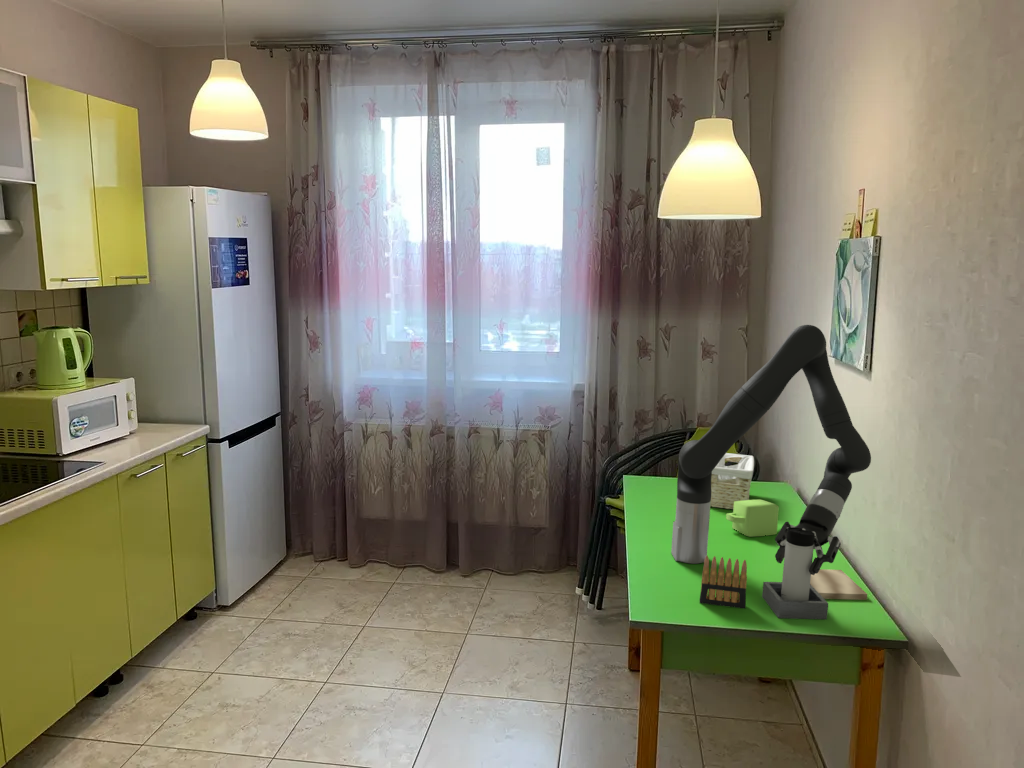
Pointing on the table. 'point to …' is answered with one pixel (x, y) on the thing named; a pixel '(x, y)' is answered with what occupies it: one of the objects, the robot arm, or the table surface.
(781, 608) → the socket collar
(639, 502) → the table surface
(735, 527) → the lime tabbed block
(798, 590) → the travel mug
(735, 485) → the storage basket
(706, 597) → the ammunition clip
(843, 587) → the beige wavy board
